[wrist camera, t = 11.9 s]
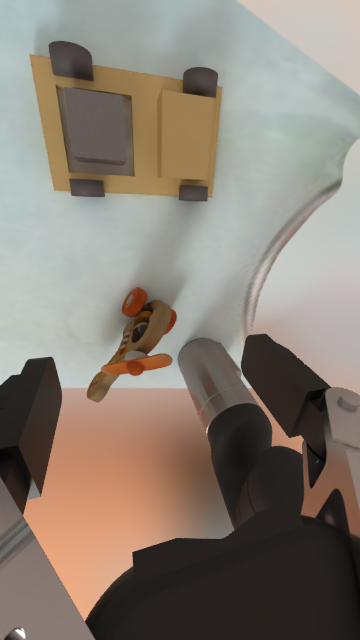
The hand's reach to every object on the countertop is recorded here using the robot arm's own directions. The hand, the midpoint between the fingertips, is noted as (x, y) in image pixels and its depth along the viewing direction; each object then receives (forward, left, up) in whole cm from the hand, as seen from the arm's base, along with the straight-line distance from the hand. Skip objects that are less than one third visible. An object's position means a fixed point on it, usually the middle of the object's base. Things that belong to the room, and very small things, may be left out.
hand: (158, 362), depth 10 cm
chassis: (-3, -12, -30) cm, 33 cm away
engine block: (+2, -12, -30) cm, 32 cm away
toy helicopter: (0, +16, -30) cm, 34 cm away
